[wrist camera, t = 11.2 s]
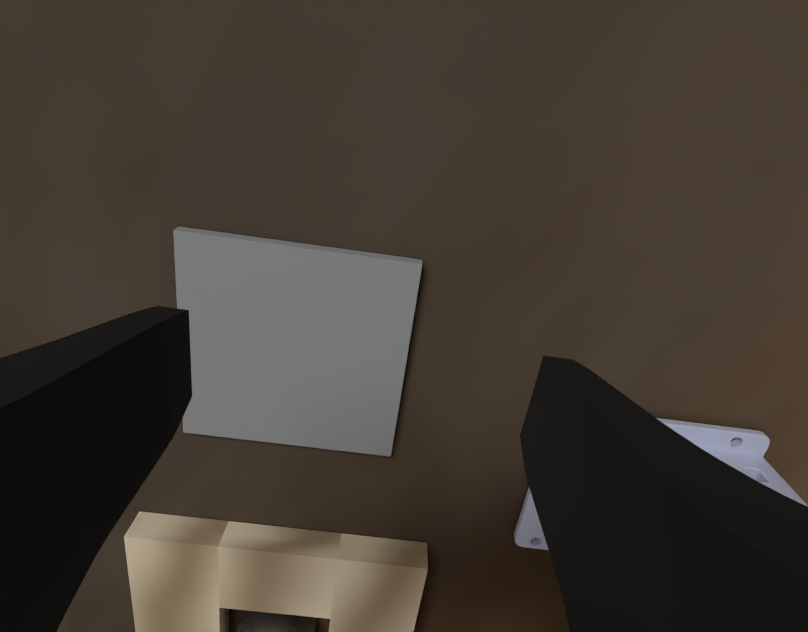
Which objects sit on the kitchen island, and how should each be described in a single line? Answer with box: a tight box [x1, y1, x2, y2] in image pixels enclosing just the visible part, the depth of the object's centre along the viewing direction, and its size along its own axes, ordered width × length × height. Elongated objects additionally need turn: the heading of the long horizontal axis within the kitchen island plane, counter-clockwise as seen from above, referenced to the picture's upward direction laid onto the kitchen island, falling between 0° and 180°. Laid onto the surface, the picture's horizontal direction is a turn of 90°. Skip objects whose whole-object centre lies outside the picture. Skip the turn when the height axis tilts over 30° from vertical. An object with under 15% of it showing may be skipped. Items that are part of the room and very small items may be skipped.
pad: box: [173, 227, 422, 457], centre depth 21 cm, size 9×9×1 cm
